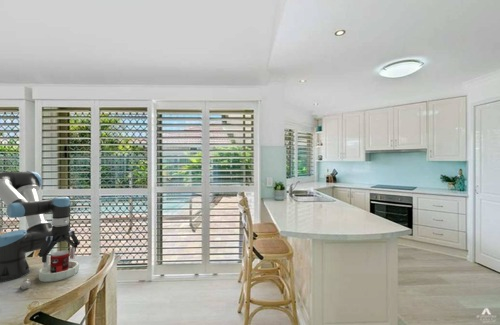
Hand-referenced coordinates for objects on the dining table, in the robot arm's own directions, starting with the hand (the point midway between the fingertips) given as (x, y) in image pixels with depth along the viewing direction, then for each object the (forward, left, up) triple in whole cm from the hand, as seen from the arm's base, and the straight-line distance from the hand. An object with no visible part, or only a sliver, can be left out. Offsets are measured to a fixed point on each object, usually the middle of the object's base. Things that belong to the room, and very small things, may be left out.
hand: (59, 263), depth 131 cm
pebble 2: (+1, -16, -6) cm, 17 cm away
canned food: (0, 0, -5) cm, 5 cm away
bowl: (0, 0, -6) cm, 6 cm away
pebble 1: (-2, -14, -6) cm, 15 cm away
